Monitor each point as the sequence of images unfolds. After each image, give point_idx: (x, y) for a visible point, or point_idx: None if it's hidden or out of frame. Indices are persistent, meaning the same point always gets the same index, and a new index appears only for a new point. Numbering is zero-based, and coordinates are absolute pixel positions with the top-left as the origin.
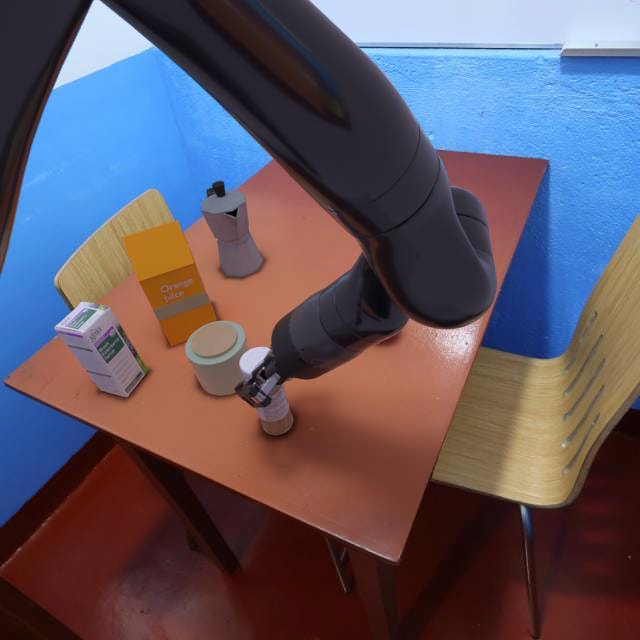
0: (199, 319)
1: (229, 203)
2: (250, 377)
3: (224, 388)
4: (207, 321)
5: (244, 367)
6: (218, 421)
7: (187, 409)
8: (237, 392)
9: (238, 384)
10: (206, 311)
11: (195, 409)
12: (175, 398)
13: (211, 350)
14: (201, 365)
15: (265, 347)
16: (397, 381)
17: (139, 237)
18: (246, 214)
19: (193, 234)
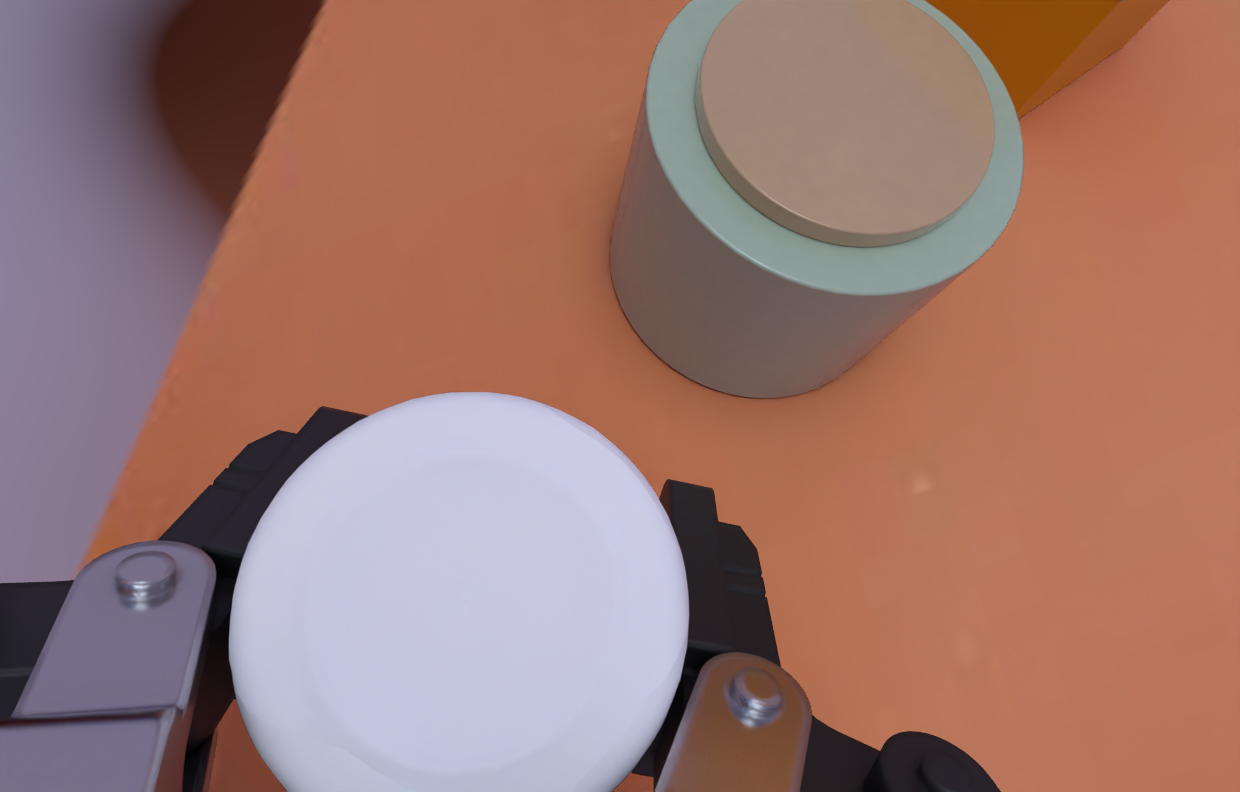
0: (1003, 6)
1: None
2: (99, 654)
3: (628, 283)
4: (1009, 53)
5: (317, 493)
6: (465, 320)
7: (510, 157)
8: (234, 461)
9: (335, 435)
10: (1061, 13)
11: (516, 191)
12: (561, 85)
13: (752, 116)
14: (643, 103)
15: (676, 637)
16: None
17: None
18: None
19: None
